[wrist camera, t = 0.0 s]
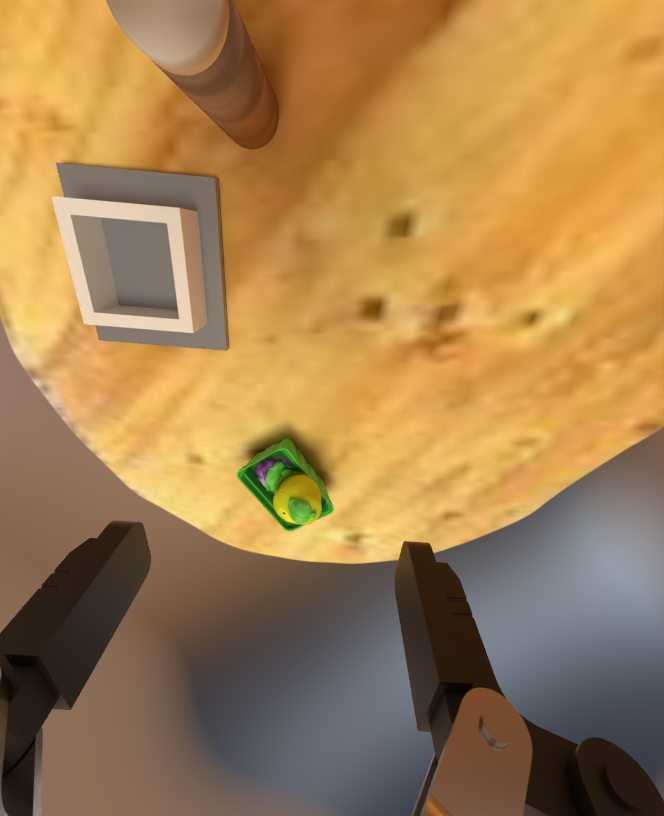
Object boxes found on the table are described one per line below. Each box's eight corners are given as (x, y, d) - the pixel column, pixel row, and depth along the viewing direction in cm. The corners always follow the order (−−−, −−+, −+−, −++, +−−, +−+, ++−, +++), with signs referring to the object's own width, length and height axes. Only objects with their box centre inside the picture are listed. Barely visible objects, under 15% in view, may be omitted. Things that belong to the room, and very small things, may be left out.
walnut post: (217, 70, 27) (82, -125, 13) (278, 76, 27) (213, -110, 13) (221, 146, 29) (111, 53, 15) (278, 151, 29) (222, 64, 15)
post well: (64, 165, 30) (16, 151, 26) (218, 179, 30) (197, 168, 26) (104, 337, 37) (73, 350, 33) (229, 348, 38) (214, 362, 33)
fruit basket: (243, 450, 44) (215, 512, 34) (298, 420, 42) (285, 477, 32) (292, 505, 48) (280, 575, 38) (344, 481, 46) (346, 548, 36)
